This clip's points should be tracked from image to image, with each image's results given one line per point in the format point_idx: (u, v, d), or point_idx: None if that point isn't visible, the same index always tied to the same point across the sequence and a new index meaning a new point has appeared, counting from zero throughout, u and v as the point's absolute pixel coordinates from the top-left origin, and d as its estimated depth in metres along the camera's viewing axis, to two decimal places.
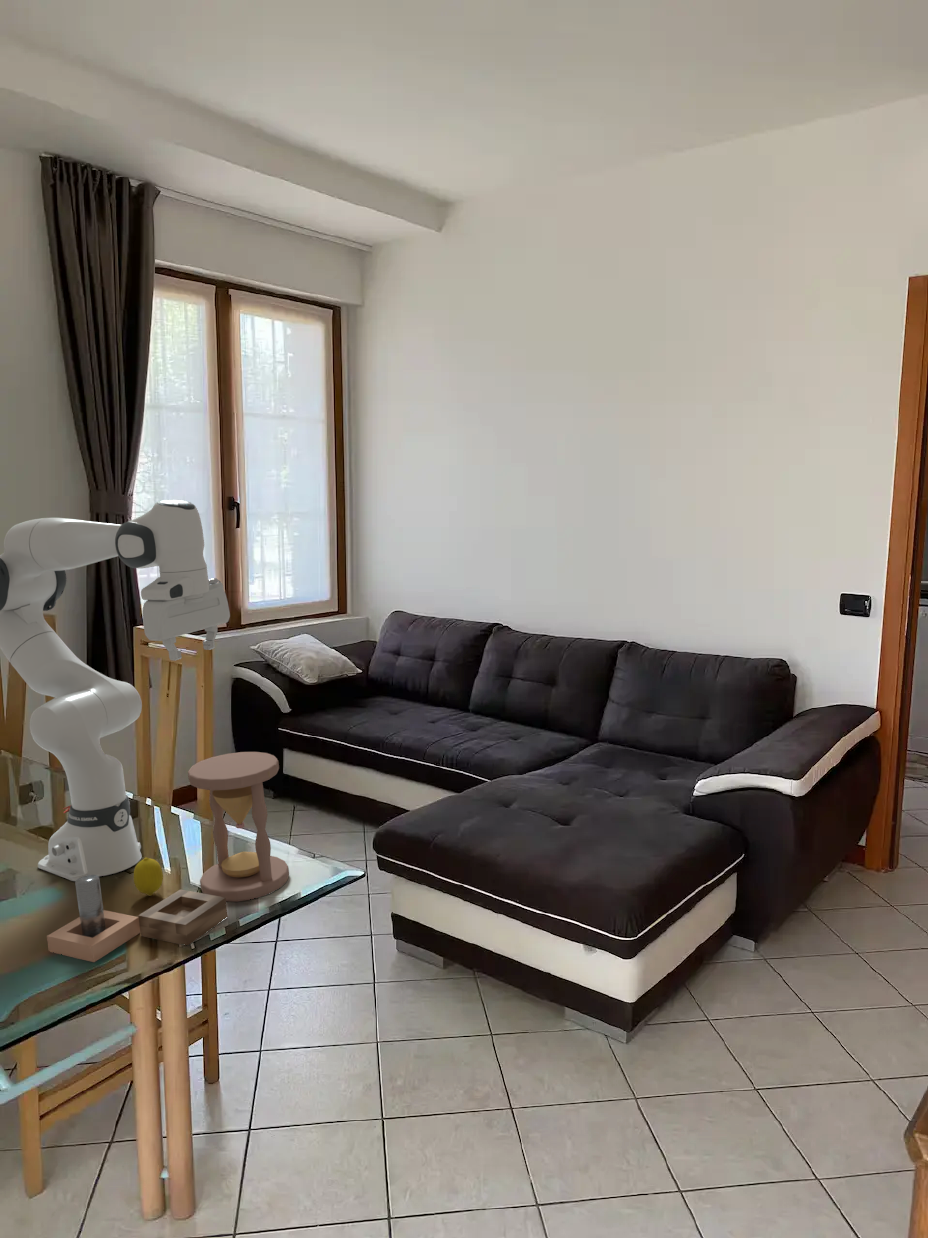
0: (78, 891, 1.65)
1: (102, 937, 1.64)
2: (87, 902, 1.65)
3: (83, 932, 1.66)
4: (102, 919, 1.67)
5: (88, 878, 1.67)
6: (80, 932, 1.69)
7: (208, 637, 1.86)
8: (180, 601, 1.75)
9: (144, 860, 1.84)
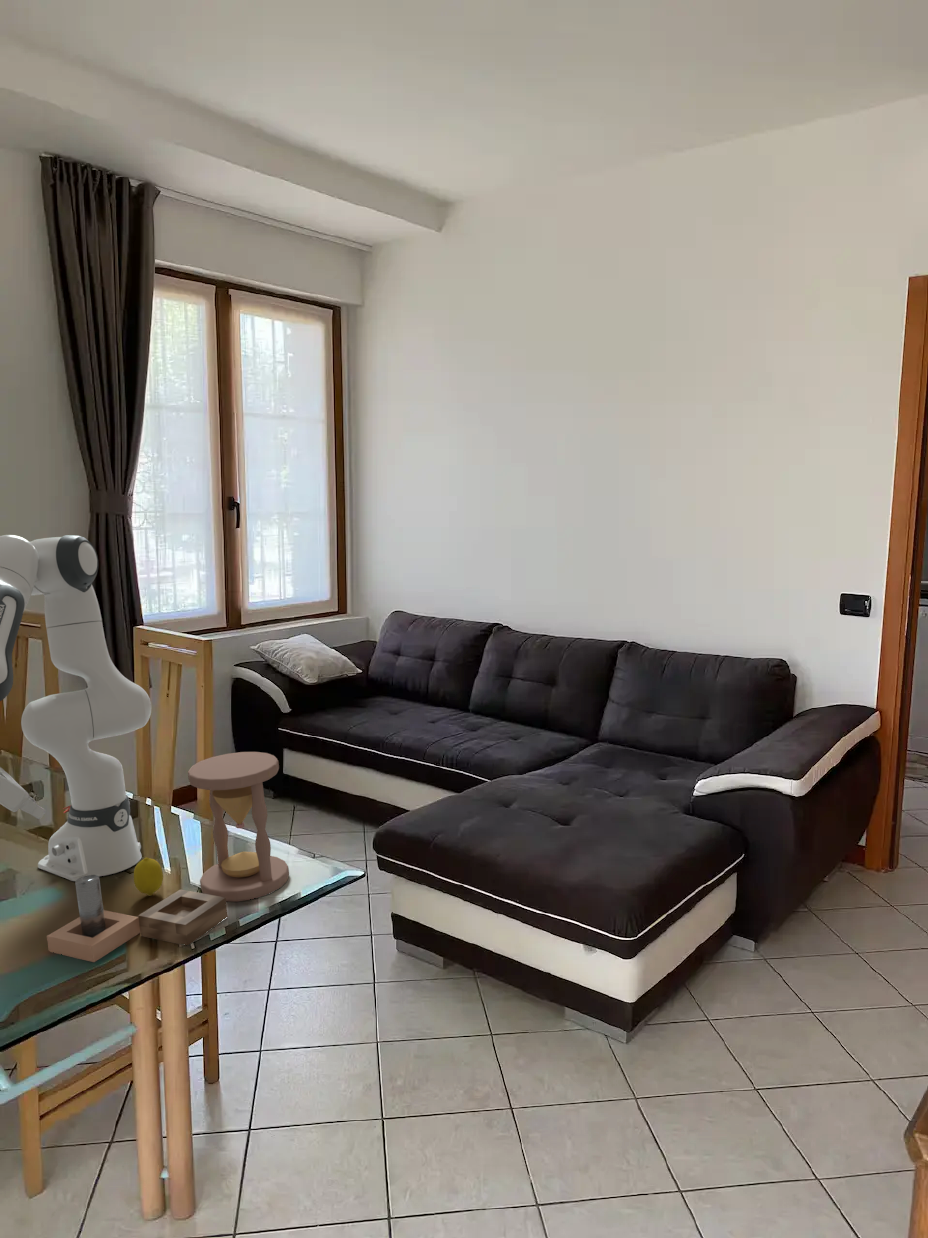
0: (78, 891, 1.65)
1: (102, 937, 1.64)
2: (87, 902, 1.65)
3: (83, 932, 1.66)
4: (102, 919, 1.67)
5: (88, 878, 1.67)
6: (80, 932, 1.69)
7: None
8: None
9: (144, 860, 1.84)
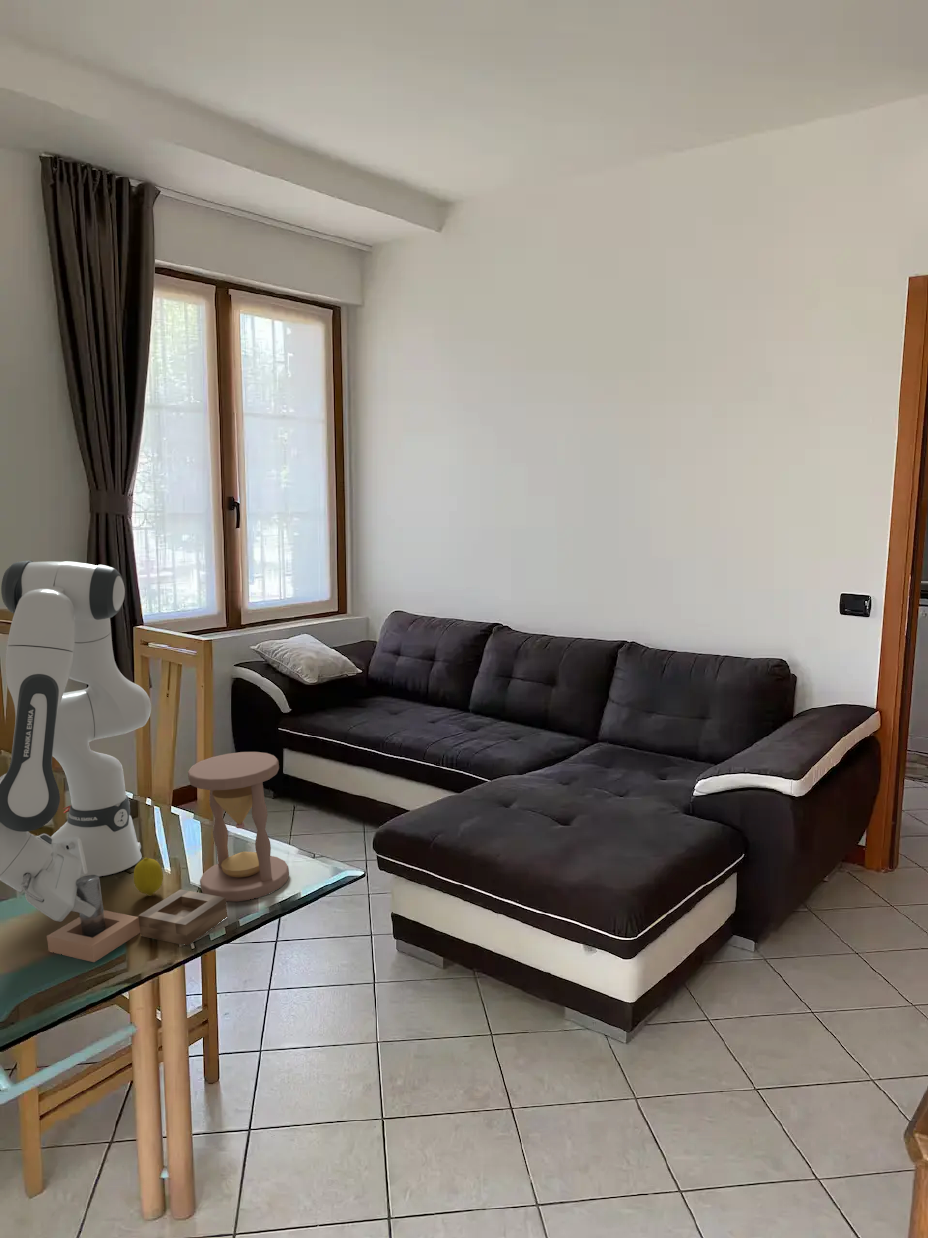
0: (78, 891, 1.65)
1: (102, 937, 1.64)
2: (87, 902, 1.65)
3: (83, 932, 1.66)
4: (102, 919, 1.67)
5: (88, 878, 1.67)
6: (80, 932, 1.69)
7: None
8: None
9: (144, 860, 1.84)
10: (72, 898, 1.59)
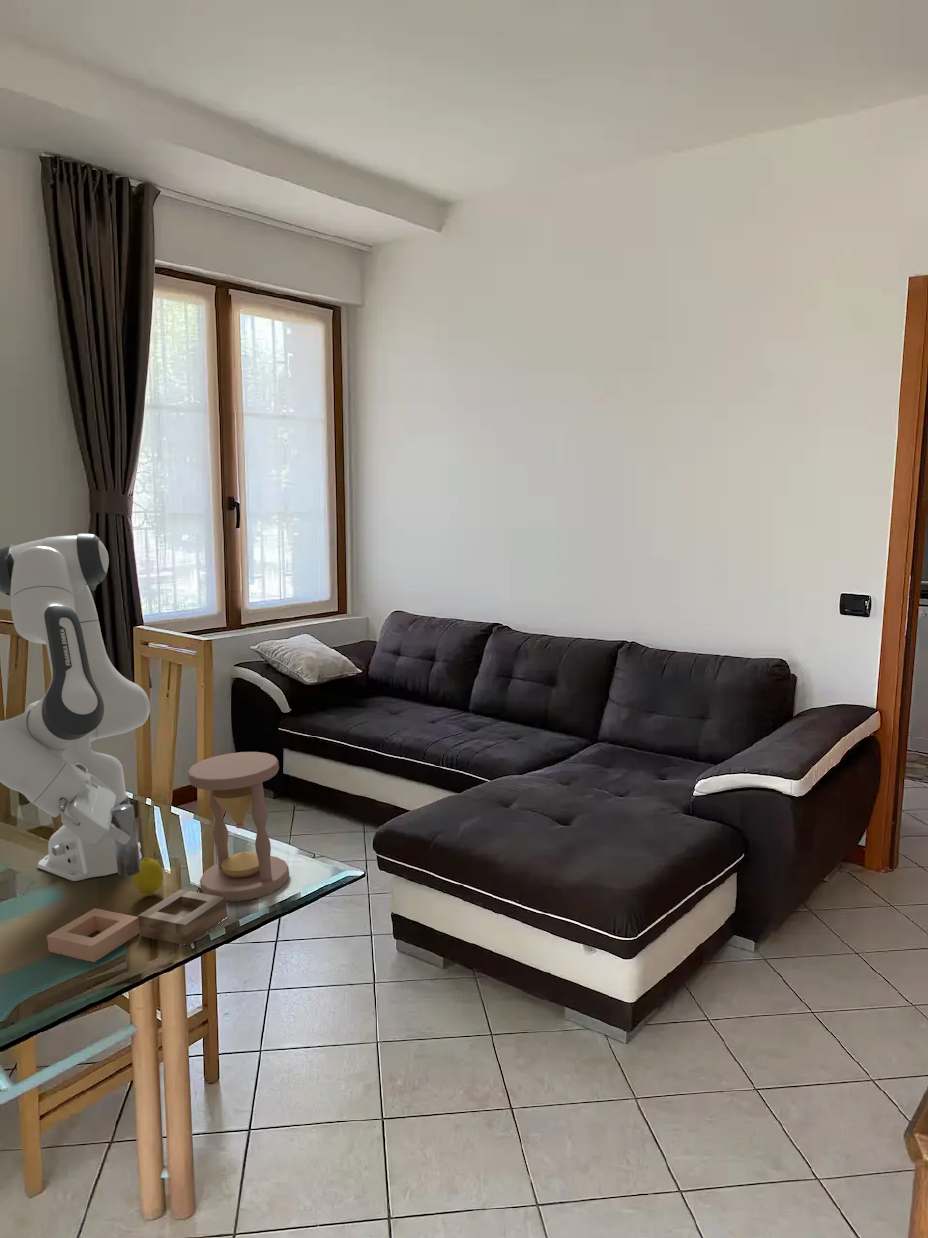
0: (113, 819, 1.65)
1: (102, 937, 1.64)
2: None
3: (117, 861, 1.66)
4: (136, 848, 1.67)
5: (123, 807, 1.66)
6: (80, 932, 1.69)
7: None
8: None
9: (144, 860, 1.84)
10: (107, 823, 1.59)
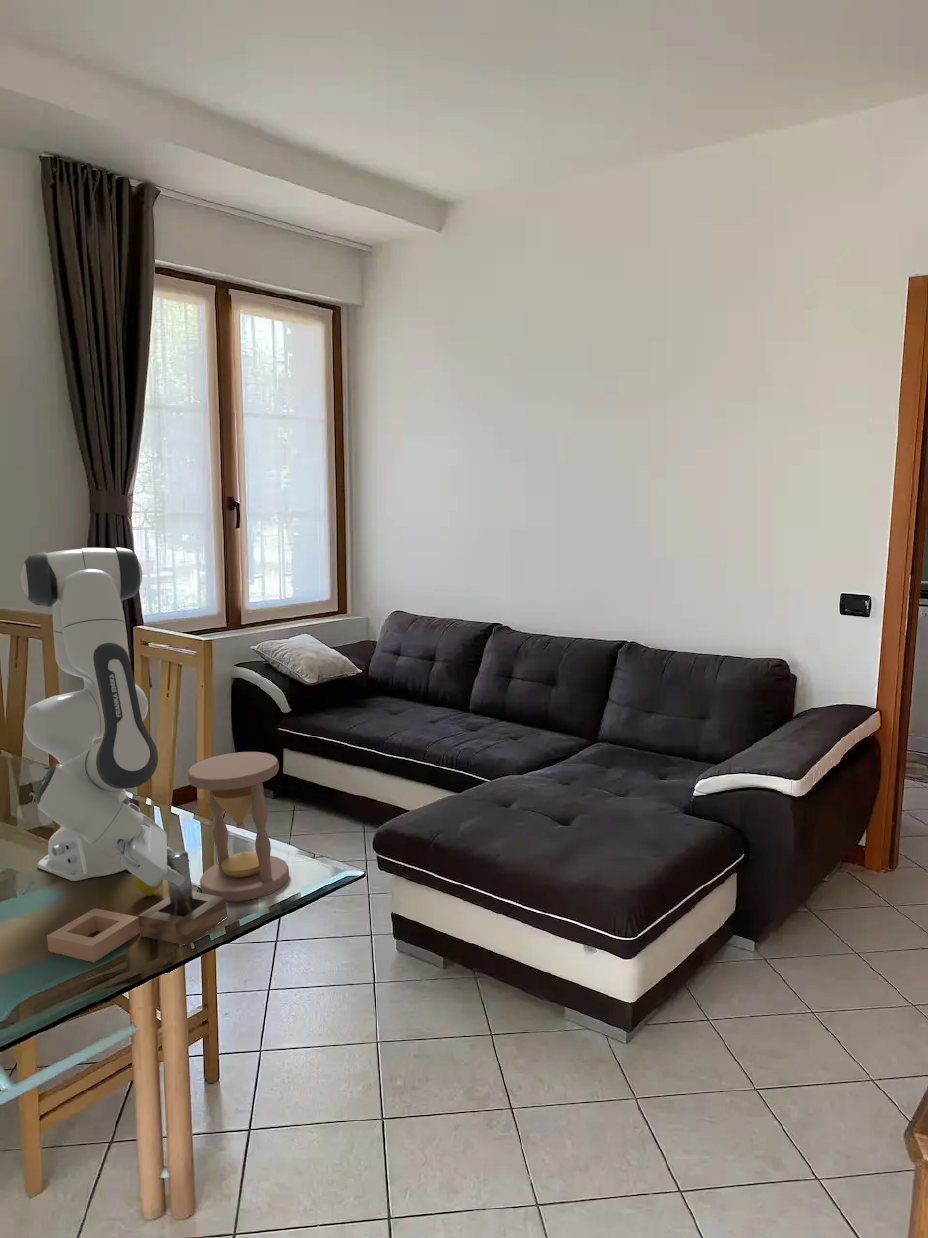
0: None
1: (102, 937, 1.64)
2: None
3: (172, 906, 1.70)
4: (190, 894, 1.71)
5: (177, 854, 1.70)
6: (80, 932, 1.69)
7: None
8: None
9: None
10: (165, 864, 1.62)
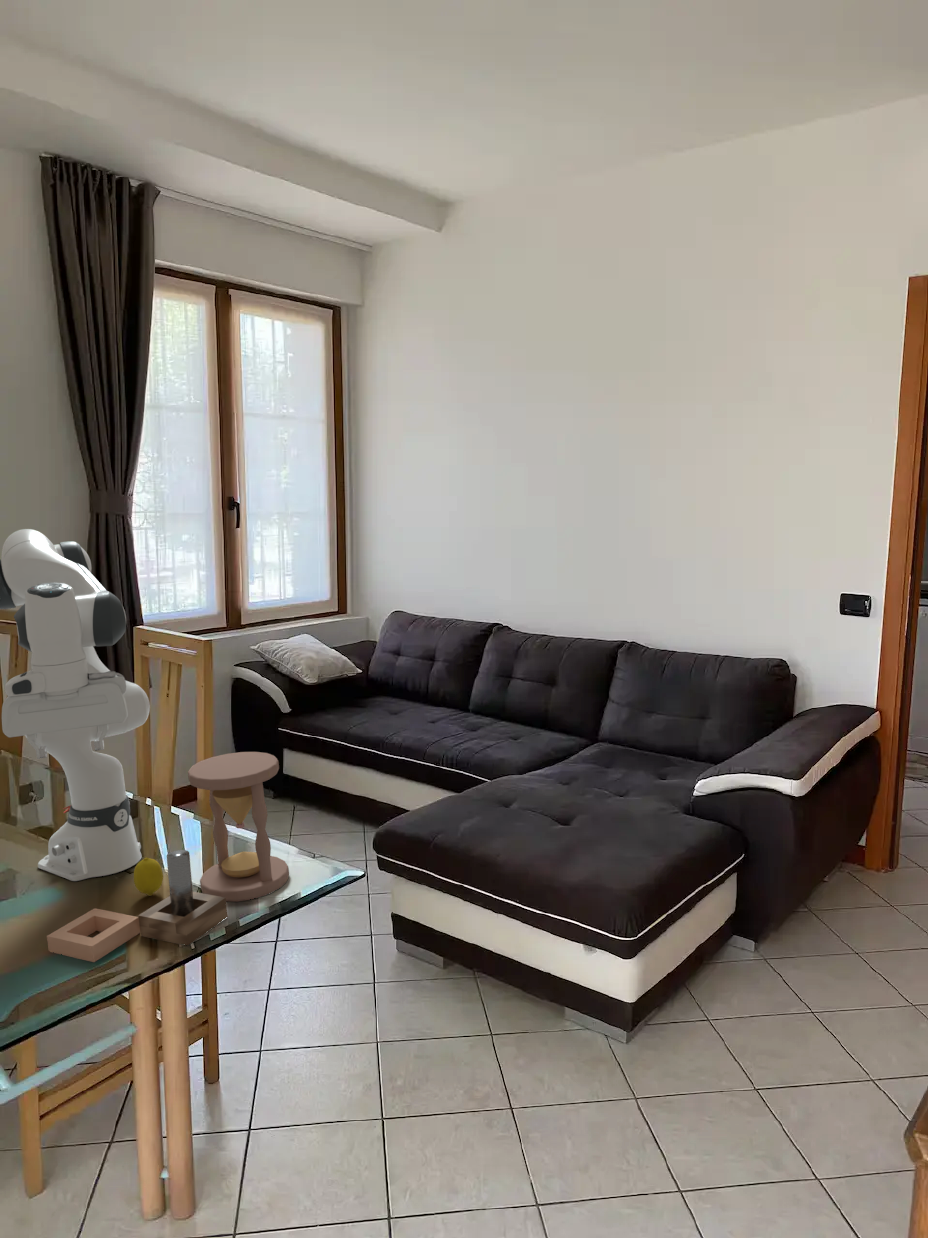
0: (170, 865, 1.69)
1: (102, 937, 1.64)
2: (179, 876, 1.69)
3: (173, 906, 1.70)
4: (191, 893, 1.71)
5: (179, 853, 1.71)
6: (80, 932, 1.69)
7: (100, 736, 1.65)
8: (31, 698, 1.58)
9: (144, 860, 1.84)
10: None
